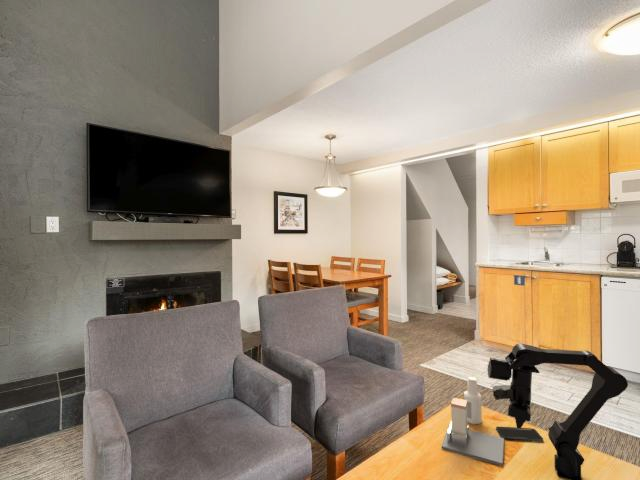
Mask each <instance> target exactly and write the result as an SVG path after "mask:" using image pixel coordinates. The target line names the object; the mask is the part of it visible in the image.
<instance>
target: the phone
mask: <svg viewBox="0 0 640 480" xmlns="http://www.w3.org/2000/svg"><path fill="white" fill-rule="evenodd" d="M495 430H496V432H497V433H498V435H499V437H501V438H504V441H516V442H531V441H535V442H536V443H543V442H544V437H542V435H540V433H539V432H538V431H537V430H536V429H535V428H531V427H521V428H517V427H516V426H515V427H512V426H496V427H495ZM535 442H534V443H535Z"/></svg>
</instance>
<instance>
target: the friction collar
mask: <svg viewBox="0 0 640 480" xmlns="http://www.w3.org/2000/svg"><path fill="white" fill-rule="evenodd" d="M449 425H450V426H449ZM449 425H448V426H449V429H448V428H447V429H448V432H447V431H446V432H447V442H450V441H451V438H452V443H454V444H457V445H461V446H465V447H466V445H467V436H469V430H470V427H469V425H467V435H463V434H459V433H455V432H452V430H451V422H450V424H449Z"/></svg>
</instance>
